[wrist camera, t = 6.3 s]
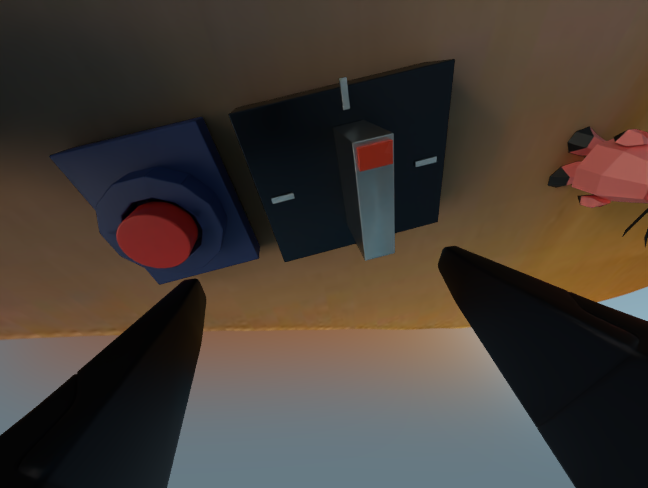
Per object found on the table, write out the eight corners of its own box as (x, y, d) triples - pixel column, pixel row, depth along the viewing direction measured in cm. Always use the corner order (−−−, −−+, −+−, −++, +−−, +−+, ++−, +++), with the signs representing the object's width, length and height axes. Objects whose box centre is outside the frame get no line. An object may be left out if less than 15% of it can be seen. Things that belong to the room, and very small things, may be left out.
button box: (166, 270, 20) (149, 302, 17) (69, 148, 14) (18, 165, 11) (260, 246, 20) (258, 274, 17) (202, 116, 14) (185, 125, 11)
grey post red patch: (371, 220, 17) (396, 255, 14) (347, 226, 17) (366, 263, 13) (364, 119, 13) (396, 134, 10) (332, 127, 13) (353, 144, 10)
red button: (154, 257, 16) (143, 275, 14) (116, 209, 14) (98, 224, 12) (209, 243, 16) (202, 260, 14) (179, 193, 14) (168, 207, 12)
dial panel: (284, 243, 20) (286, 267, 18) (233, 101, 14) (224, 106, 12) (418, 208, 21) (438, 226, 18) (425, 54, 15) (458, 50, 12)
